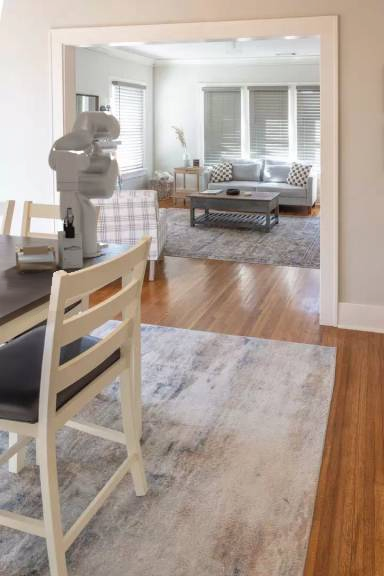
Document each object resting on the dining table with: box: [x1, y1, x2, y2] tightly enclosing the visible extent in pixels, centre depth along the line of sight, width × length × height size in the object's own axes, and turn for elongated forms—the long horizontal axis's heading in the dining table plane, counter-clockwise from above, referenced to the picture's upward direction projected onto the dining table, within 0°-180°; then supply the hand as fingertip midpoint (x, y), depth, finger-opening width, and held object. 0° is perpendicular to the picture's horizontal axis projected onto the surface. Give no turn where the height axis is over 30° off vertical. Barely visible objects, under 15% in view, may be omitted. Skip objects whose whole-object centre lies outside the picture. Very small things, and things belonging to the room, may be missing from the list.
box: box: [15, 244, 57, 274], centre depth 203 cm, size 13×13×7 cm
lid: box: [18, 245, 55, 263], centre depth 190 cm, size 13×11×3 cm
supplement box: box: [57, 230, 84, 270], centre depth 205 cm, size 7×7×13 cm
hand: (69, 236), depth 203 cm, fingers open, 9 cm apart
